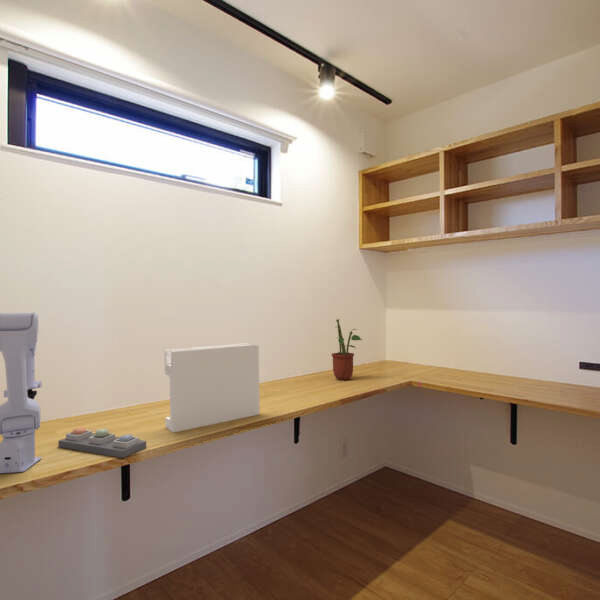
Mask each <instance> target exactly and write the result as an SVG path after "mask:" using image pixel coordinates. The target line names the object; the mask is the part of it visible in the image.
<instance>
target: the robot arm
mask: <svg viewBox="0 0 600 600" xmlns="http://www.w3.org/2000/svg"><path fill="white" fill-rule="evenodd" d="M38 333H39V315H38V313H37V312H36V311H34V312H11V313H10V312H7V313H4V312H3V313H1V312H0V352H1V353H2V354H1V355H2V356H3V357H2V358H3V361H4V366H5V367H4V368H5V377H6V390H3V398H7V400H6V401H5V402H3V403H1V404H0V436H1V438H2V440H1V442H0V474H6V473H7V474H8V473H9V474H10V473H22V472H23V473H24V472H26V471H28V469H30V468H31V467H32V466H34V465H35V464H36V463H38V462H39V461H40V460H42V459H43V458H42V456H36V430H39V428H40V427H41V408H40V403H39V401H38V400H35V397H36V396H37V395H38V393H37V392H38V391H37V390H35V389H39V388H42V384H43V383H42V380H41V381H38V380H37V381H35V379H36V375H35V373H36V372H35V365H36V364H35V356H36V348H37V342H38Z"/></svg>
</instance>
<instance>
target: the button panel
mask: <svg viewBox="0 0 600 600" xmlns="http://www.w3.org/2000/svg"><path fill="white" fill-rule="evenodd" d="M57 444H58V445H57V446H58V448H63V449H66V450H67V449H69V450H73V451H74V450H75V451H80V452H85V453H91V454H92V453H93V454H98V455H101V456H102V455H103V456H104V455H105V456H110V457H114V458H121V459H124V458H127V457H129V456H131V455H133V454H136V453H138V452H139V451H142V450H145V449H147V441H146V440H140V437H138V436H133V440H130V441H128V442H121V441H120V436H116V434H115V433H112V432H111V433H109V432H108V435H107V436H103V437H96V436H95V433H94V432H93V431H92V430H90V429H89V430H88V429H85V433H83V434H80V435H74V434H73V431H70V432H68V433H66V434H65V438H63V439H60V440H58V443H57Z"/></svg>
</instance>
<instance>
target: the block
mask: <svg viewBox="0 0 600 600" xmlns="http://www.w3.org/2000/svg"><path fill="white" fill-rule="evenodd" d="M259 348H260V347H259V343H256V344H250V343H249V342H248V343H236V344H235V343H233V344H224V345H223V344H221V345H211V346H209V345H208V346H197V347H186V348H185V347H184V348H174V349H173V348H172V349H164V375H166V376H168V377H169V378H168V379H169V407H170V408H169V412H170V415H169V416H166V417H165V418H164V419H165V423H164V424H165V428H166V429H168V430H169V431H171V432H172V433H177V432H182V431H187V430H192V429H196V428H200V427H201V428H202V427H205V426H206V427H207V426H211V425H216V424H220V423H221V424H222V423H225V422H230V421H234V420H239V419H244V418H249V417H253V416H257V415H259V416H260V413H261V412H260V366H259V365H260V363H259V362H260V359H259V356H260V355H259V352H260V351H259Z"/></svg>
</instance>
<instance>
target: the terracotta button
mask: <svg viewBox="0 0 600 600" xmlns="http://www.w3.org/2000/svg"><path fill="white" fill-rule="evenodd" d="M85 430H86V428H85V427H79V428H74V429H73V430H72V432H73V434H74V435H80V434H83V433H85Z"/></svg>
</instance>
